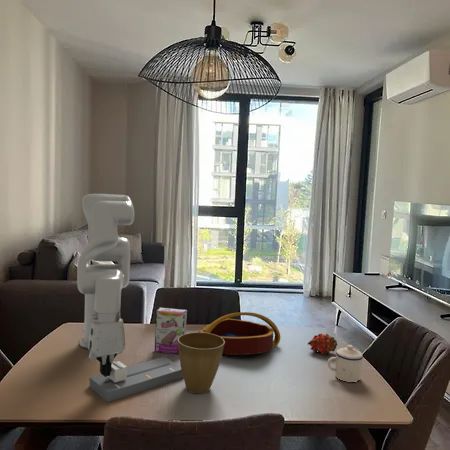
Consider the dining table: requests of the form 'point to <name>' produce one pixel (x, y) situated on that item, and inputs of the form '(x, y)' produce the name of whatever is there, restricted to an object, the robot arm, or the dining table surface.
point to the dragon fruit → (323, 343)
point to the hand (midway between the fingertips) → (105, 374)
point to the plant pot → (199, 359)
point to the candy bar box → (169, 329)
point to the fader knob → (118, 371)
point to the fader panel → (137, 379)
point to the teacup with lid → (347, 364)
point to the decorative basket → (244, 334)
